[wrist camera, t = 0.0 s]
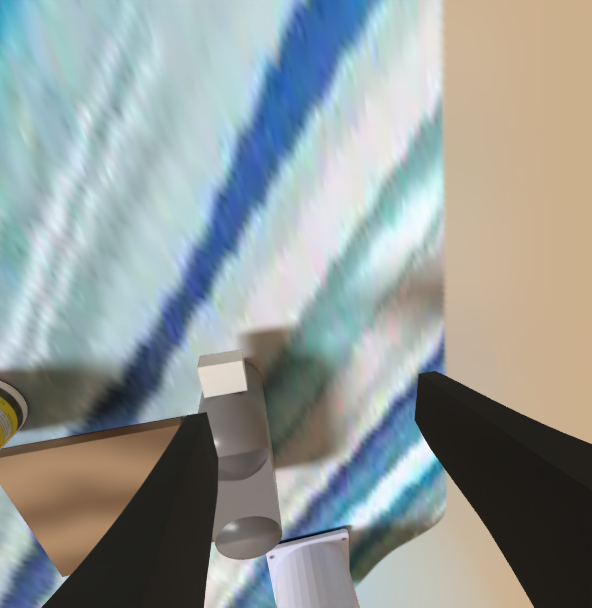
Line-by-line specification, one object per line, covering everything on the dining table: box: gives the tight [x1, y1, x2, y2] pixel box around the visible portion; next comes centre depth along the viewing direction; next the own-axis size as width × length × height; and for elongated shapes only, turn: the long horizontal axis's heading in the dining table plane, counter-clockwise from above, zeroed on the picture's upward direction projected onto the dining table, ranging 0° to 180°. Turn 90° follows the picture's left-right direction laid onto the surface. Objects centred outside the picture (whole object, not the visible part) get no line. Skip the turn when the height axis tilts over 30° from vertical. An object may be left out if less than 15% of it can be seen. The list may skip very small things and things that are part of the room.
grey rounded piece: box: [197, 350, 282, 560], centre depth 19 cm, size 13×4×6 cm, turn 5°
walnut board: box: [0, 417, 214, 577], centre depth 22 cm, size 13×12×1 cm
